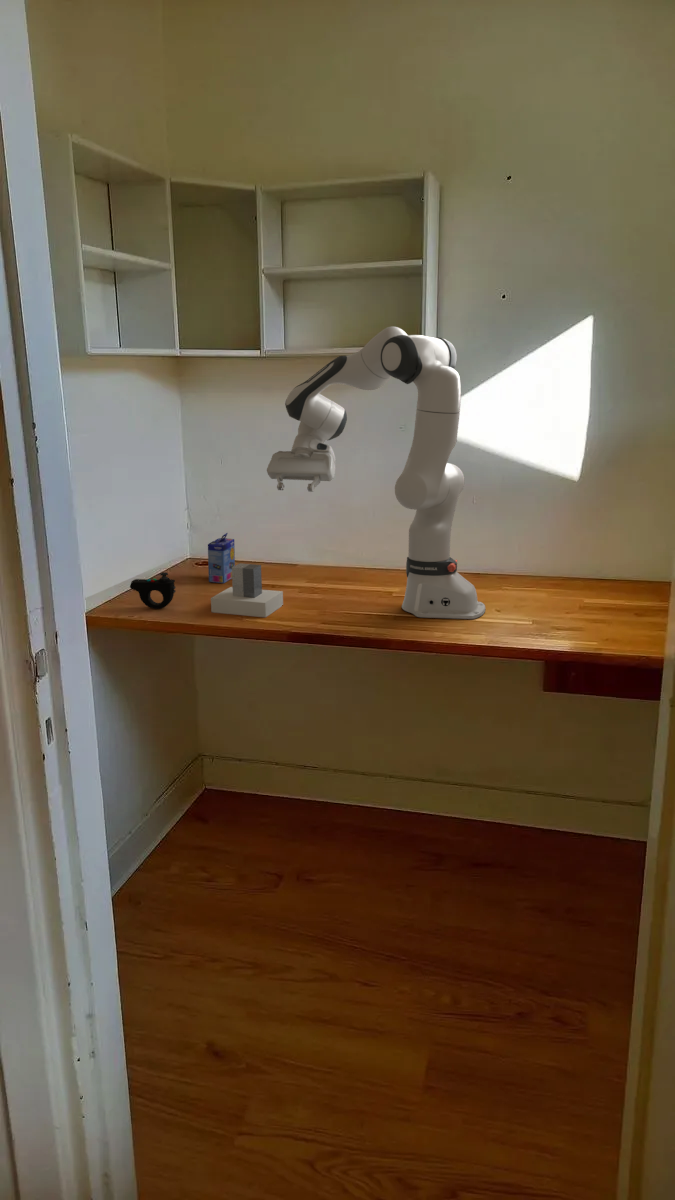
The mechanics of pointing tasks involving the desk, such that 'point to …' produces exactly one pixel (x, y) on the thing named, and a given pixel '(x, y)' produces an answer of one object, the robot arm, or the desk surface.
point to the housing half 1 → (238, 579)
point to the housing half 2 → (252, 581)
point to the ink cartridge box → (221, 559)
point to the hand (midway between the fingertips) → (294, 489)
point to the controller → (161, 585)
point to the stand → (247, 603)
